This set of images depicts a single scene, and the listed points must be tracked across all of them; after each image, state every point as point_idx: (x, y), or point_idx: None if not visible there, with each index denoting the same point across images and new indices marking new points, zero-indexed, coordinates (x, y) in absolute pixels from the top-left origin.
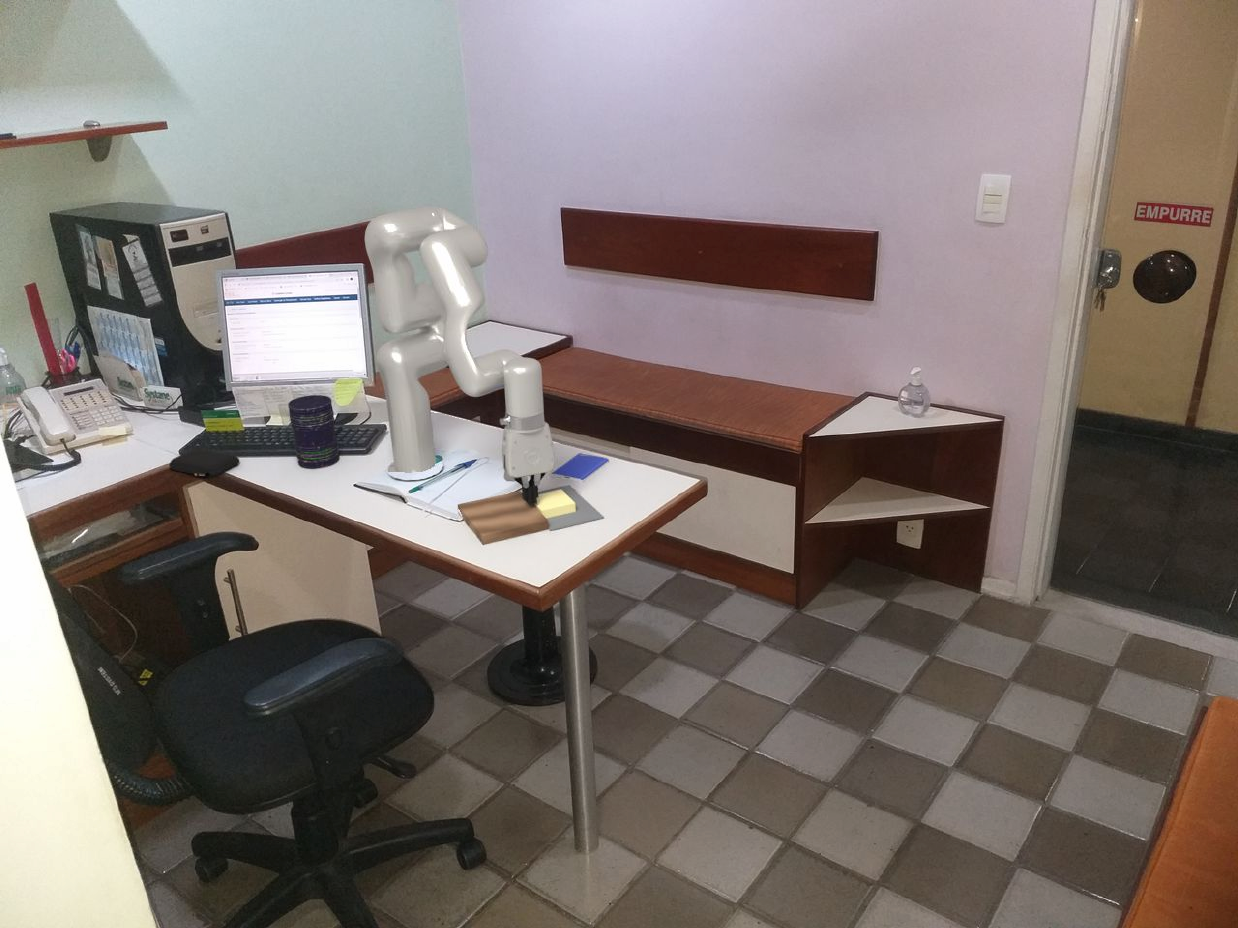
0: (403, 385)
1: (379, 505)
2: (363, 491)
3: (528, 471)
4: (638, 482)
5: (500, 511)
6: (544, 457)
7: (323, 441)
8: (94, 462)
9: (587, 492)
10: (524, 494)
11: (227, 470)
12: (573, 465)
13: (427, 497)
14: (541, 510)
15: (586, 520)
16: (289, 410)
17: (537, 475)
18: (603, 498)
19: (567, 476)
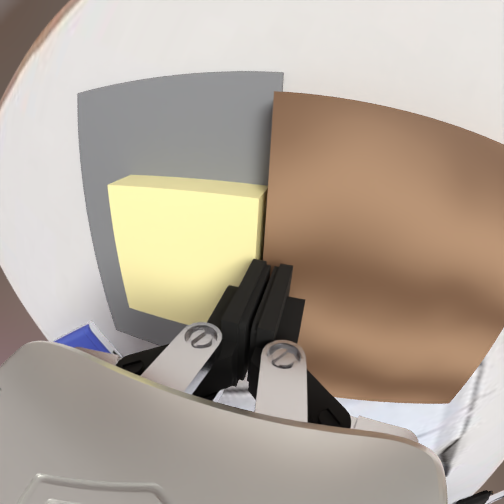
0: None
1: (483, 440)
2: (454, 468)
3: (244, 458)
4: (12, 243)
5: (408, 310)
6: (6, 463)
7: None
8: (491, 500)
9: (85, 273)
10: (301, 321)
11: (472, 496)
12: None
13: (420, 443)
14: (258, 201)
15: (124, 88)
16: None
17: (169, 378)
18: (58, 218)
19: None
